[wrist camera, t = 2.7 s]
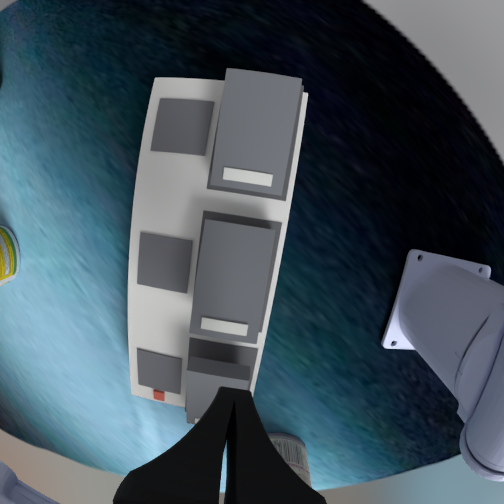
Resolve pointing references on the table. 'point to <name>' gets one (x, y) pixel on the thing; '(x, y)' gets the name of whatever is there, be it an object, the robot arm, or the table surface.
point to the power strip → (189, 236)
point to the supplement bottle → (8, 256)
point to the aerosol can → (292, 454)
